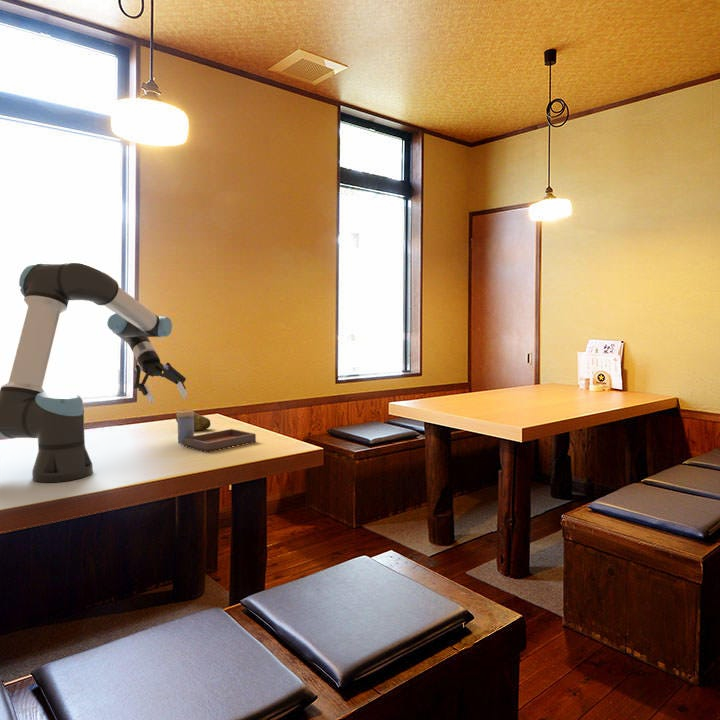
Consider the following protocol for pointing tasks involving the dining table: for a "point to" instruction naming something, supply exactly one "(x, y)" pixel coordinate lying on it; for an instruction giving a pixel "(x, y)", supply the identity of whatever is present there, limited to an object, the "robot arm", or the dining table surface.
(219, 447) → the tray
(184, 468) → the dining table surface
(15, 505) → the dining table surface
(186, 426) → the shaker
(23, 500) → the dining table surface
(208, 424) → the potato
